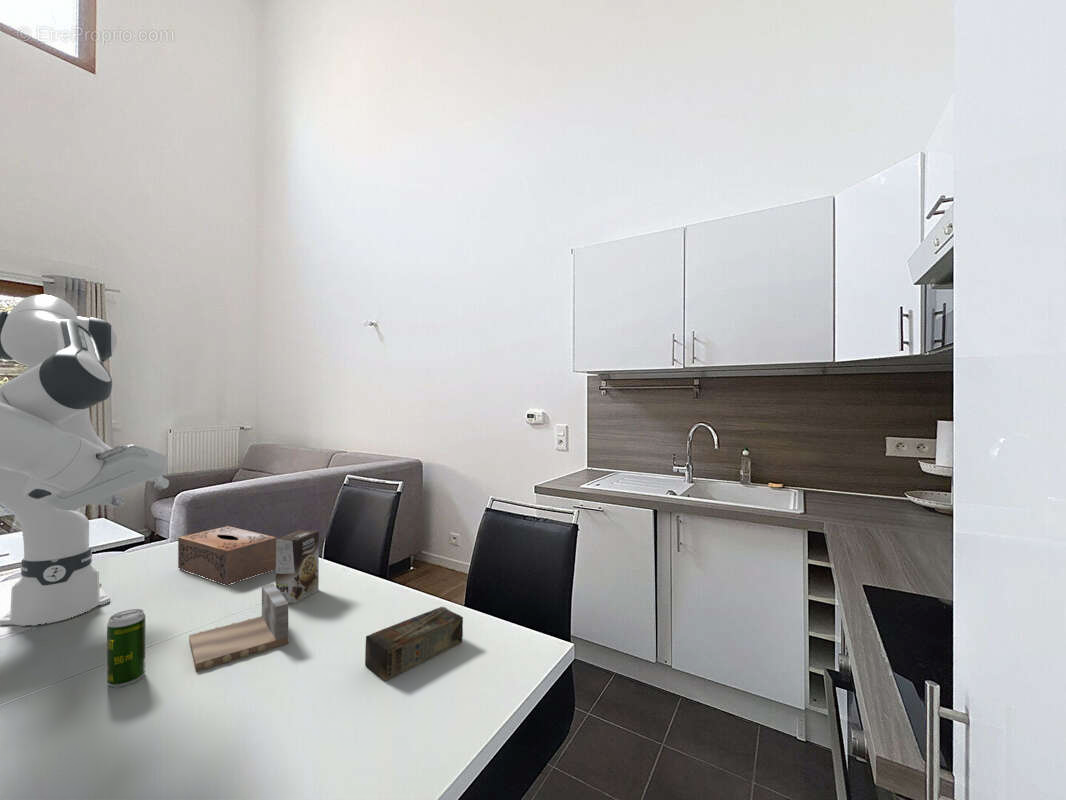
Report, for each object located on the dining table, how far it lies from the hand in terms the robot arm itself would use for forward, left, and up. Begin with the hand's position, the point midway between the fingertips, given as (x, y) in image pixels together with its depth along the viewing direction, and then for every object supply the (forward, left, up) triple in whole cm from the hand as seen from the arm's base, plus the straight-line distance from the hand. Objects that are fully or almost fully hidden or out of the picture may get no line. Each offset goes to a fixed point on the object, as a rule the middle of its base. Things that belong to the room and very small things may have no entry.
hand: (143, 494), depth 94 cm
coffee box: (-13, +32, -33) cm, 47 cm away
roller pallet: (+5, +16, -33) cm, 37 cm away
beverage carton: (+33, +43, -33) cm, 63 cm away
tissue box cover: (-47, +20, -33) cm, 61 cm away
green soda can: (+7, -2, -33) cm, 34 cm away
